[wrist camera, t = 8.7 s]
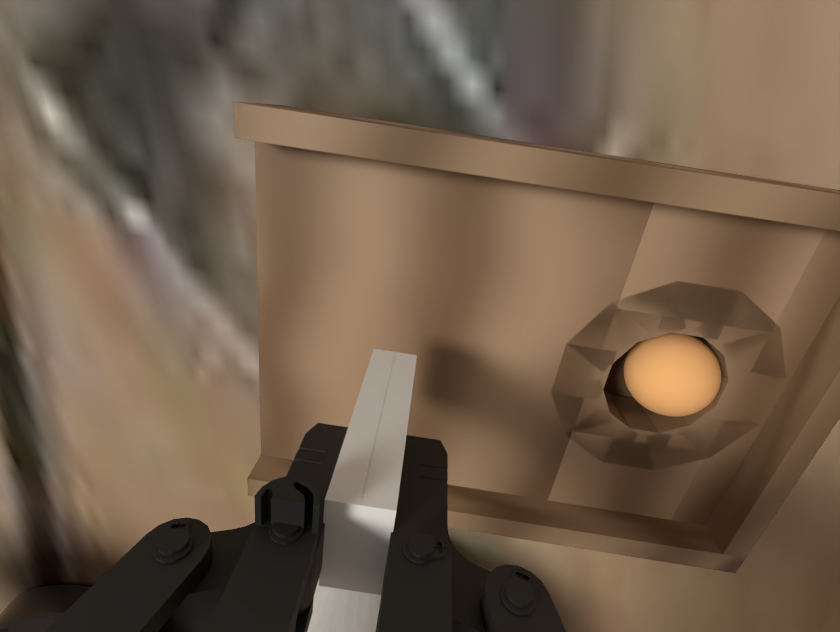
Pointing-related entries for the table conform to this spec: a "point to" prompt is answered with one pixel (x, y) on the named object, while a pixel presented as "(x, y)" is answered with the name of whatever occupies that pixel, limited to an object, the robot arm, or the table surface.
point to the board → (547, 324)
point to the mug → (343, 611)
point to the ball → (672, 374)
